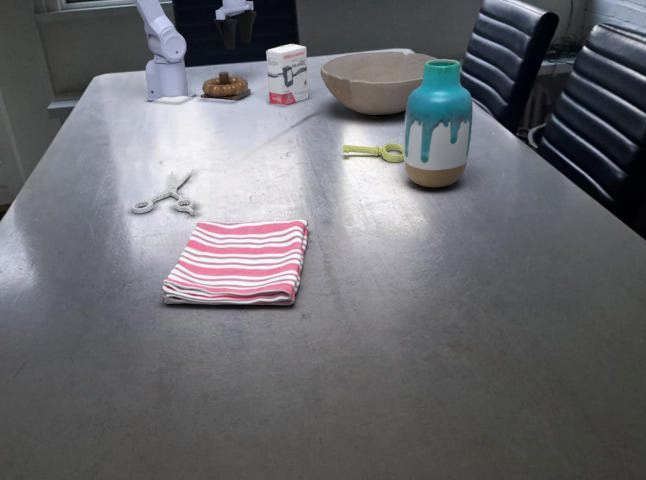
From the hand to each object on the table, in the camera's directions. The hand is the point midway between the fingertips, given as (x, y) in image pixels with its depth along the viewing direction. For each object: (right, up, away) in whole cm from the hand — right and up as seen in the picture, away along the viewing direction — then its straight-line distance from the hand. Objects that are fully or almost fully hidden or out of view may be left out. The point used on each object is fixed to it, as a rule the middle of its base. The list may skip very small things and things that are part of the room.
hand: (238, 46), depth 172 cm
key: (+29, -41, -44) cm, 67 cm away
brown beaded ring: (-3, -12, -5) cm, 13 cm away
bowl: (+33, -24, -20) cm, 46 cm away
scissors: (-7, -50, -55) cm, 75 cm away
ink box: (+13, -17, -9) cm, 24 cm away
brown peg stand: (-3, -14, -3) cm, 15 cm away
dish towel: (+6, -66, -78) cm, 103 cm away
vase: (+37, -49, -57) cm, 84 cm away
